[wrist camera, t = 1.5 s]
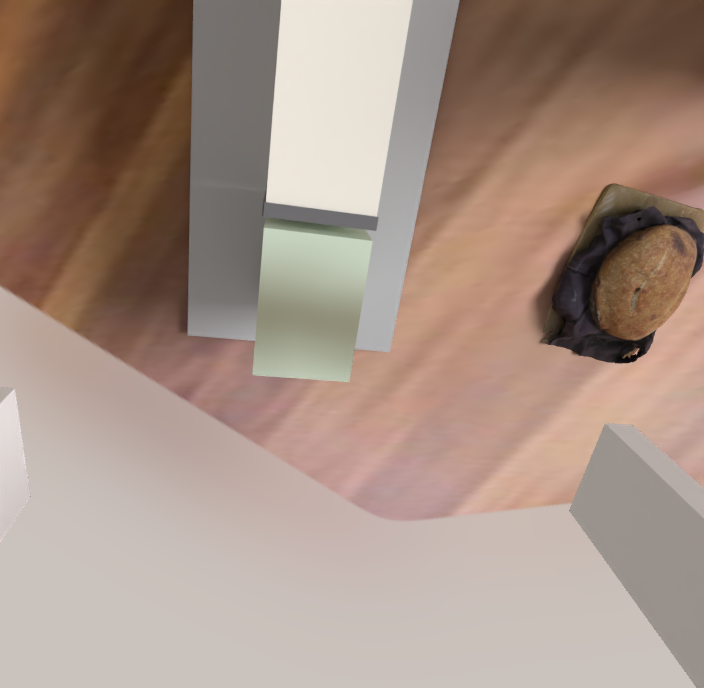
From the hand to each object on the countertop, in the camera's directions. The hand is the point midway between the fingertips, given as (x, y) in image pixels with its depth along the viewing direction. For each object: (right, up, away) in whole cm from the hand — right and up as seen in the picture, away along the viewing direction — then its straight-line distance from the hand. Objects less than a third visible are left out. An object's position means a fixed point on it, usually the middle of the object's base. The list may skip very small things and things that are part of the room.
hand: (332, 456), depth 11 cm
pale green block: (-2, +7, +16) cm, 18 cm away
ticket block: (-1, +15, +14) cm, 20 cm away
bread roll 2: (+17, +7, +21) cm, 28 cm away
